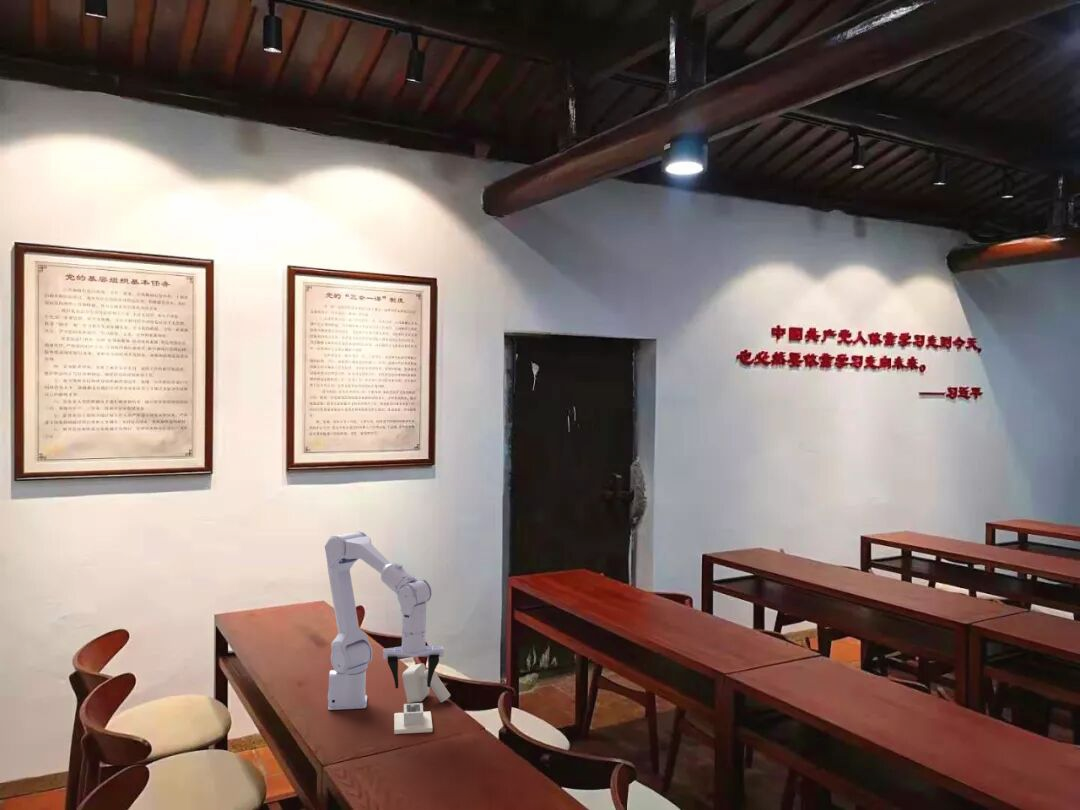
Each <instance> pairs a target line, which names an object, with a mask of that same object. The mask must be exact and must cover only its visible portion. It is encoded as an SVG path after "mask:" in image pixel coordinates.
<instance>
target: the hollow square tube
mask: <svg viewBox="0 0 1080 810" xmlns="http://www.w3.org/2000/svg"><path fill="white" fill-rule="evenodd" d="M423 704H424V703H423V702H413V703H404V704H403V713H404V726H412V725H423V712H424V705H423ZM411 705H416V712H410V706H411Z"/></svg>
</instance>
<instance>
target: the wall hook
mask: <svg viewBox="0 0 1080 810" xmlns="http://www.w3.org/2000/svg"><path fill="white" fill-rule="evenodd" d="M427 676H428V668H427V669H426V665H425V663H418V664H412V665H411V664H410V665H409V667H407V668H406V669H405V670H404V671H403V672H402V677H401V678H402V683H403V688H404V693H405V696H406V701H407V704H413V703H421V702H422V701H424V700H425V698H426V697H427V696H429V694H430V688H431V690H432V691H433V692H434V694H435V696H436V697H437V699H438V701H440V703H441V704H442V703H443V702H445V701H446V700H448V699H449V698H450V697H451V693H450V692H449V691H448V689H447V688H446V686H445V685H444V683H443V681H441V679H440V677H439V676H438V674H437V673H436V670H435V671H434V673H433V676H432V680H431V685H430V687H427Z"/></svg>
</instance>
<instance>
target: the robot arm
mask: <svg viewBox="0 0 1080 810" xmlns="http://www.w3.org/2000/svg"><path fill="white" fill-rule="evenodd" d="M324 551H325V556H326V562H327V573H328V578H329V584H330V589H331V591H330V592H331V597H332V604H333V610H334V616H335V621H336V629H337V635H336V637H335V638H334V639H333V641H332V642H331V643H330V649H331V652H330V663H331V667H332V669H331V670H329V674H328V675H329V676H328V691H327V700H328V701H327V702H328V703H327V706H328V707H327V709H328V710H329V711H333V710H334V711H336V710H355V709H356V710H357V709H358V710H359V709H366V708H367V706H368V705H367V704H368V695H367V694H366V690H367V689H366V684H367V683H366V682H367V680H366V679H367V678H366V674H367V671H366V670H367V668H369V663H370V662H371V661H372V660H373V654H374V652H373V648H372V645H371V643H370V641H369V636H368V634H367V633H365V632H364V631H362V630H361V629H360V625H359V619H358V614H357V607H356V602H355V595H354V589H353V588H354V587H353V583H352V575H351V568H352V567H353V565H354V564H355V563H356V562H357V561H358V560H359V559H360V560H362V561H363V562H364V563H365V564H367V565H369V566H370V567H371V568H372V569H374V570H375V571H376V572H378V573H379V574H380V580H381V582H383V584H384V585H385V586H387V587H388V588H389V589H390V590H391V591H393V593H394V594H396V595H397V600H398V603H399V605H400V611H401V615H402V619H401V621H402V623H401V627H402V628H401V646H395V647H388V648H383V649H382V651H383V652H382V659H383V660H387V664H388V667H389V669H390V671H391V674H392V678H393V680H394V685H395V686H394V687H395V689H399V658H419V657H423V658H424V657H428V658H427V669H428V676H427V687H430V685H431V680H432V676H433V673H434V671H435V672H436V668H437V666H438V665H439V662H440V658H442V657H443V658H444V652H445V651H444V649H445V648H444V646H437V645H436V646H434V645H426V642H427V641H426V640H427V639H426V637H427V636H426V635H427V634H426V633H427V603H428V602H429V601H430V600H431V597H432V587H431V585H430V584H429V582H428V581H427V580H426V579H424V578H417V577H415V576H414V575H413V574H411V573H410V572H409V571H407V570H406V569H405V568H404V567H403V565H402V563H398V562H390V561H389V560H388V559H387V558H386V557H385V556H384V555H383V554H382V553H381V552H380V551H379V550H378V549H377V548H376V547H375V546H374V545H373V544H372V539H371V537H370V536H368V535H367V534H366V533H365V532H364V531H361V530H359V531H358V530H357V531H354V532H351V533H344V534H339V535H332V536H330V537H329V539H328V540H327V542H326V543H325V545H324ZM430 688H431V687H430Z"/></svg>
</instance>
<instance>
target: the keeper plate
mask: <svg viewBox="0 0 1080 810" xmlns="http://www.w3.org/2000/svg"><path fill="white" fill-rule="evenodd" d="M410 712H416V705H411V706H410ZM393 716H394V717H393V721H394V723H393V724H394V725H393V728H394V729H393V733H394V735H400V734H417V733H419V734H420V733H432V732H433V721H432V713H431V710H430V711H429V710H428V711H423V725H412V726H404V712H395V713H394V714H393Z"/></svg>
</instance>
